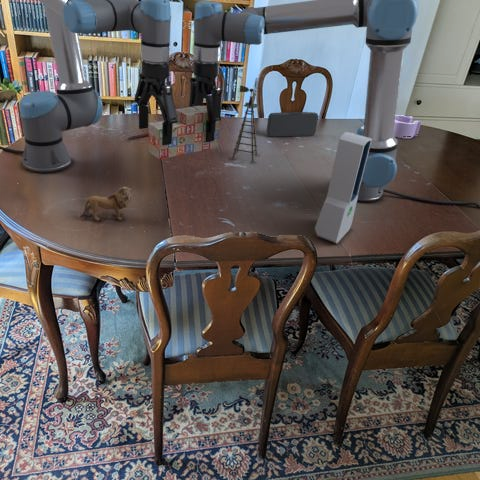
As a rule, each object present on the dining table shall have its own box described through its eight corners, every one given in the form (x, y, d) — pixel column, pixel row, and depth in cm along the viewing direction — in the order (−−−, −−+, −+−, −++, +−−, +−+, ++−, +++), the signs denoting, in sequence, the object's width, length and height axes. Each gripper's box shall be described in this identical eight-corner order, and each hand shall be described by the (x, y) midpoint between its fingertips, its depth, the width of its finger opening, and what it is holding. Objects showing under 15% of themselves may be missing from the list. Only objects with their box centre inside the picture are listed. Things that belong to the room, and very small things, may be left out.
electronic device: (336, 245, 132) (360, 146, 116) (312, 236, 135) (332, 138, 119) (351, 228, 141) (376, 133, 125) (328, 220, 144) (350, 126, 128)
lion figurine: (131, 210, 139) (130, 182, 134) (134, 219, 134) (133, 191, 130) (79, 214, 134) (76, 186, 129) (80, 224, 129) (77, 195, 125)
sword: (190, 126, 202) (190, 124, 201) (194, 129, 200) (194, 126, 199) (124, 139, 186) (124, 136, 186) (127, 141, 184) (127, 139, 184)
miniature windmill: (253, 162, 176) (262, 82, 160) (231, 159, 177) (238, 78, 161) (257, 154, 184) (266, 76, 168) (236, 150, 185) (243, 72, 169)
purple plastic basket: (384, 139, 212) (388, 124, 209) (370, 129, 222) (373, 115, 218) (420, 137, 219) (425, 123, 215) (404, 128, 228) (409, 114, 225)
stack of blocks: (159, 159, 137) (158, 119, 131) (148, 152, 141) (147, 112, 135) (218, 147, 149) (220, 109, 143) (207, 141, 153) (208, 104, 147)
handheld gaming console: (312, 133, 210) (316, 111, 205) (315, 135, 208) (319, 113, 203) (265, 134, 203) (268, 112, 198) (267, 137, 201) (270, 114, 196)
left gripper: (192, 72, 120) (188, 149, 132) (145, 49, 135) (145, 120, 147) (167, 74, 116) (165, 154, 127) (121, 50, 131) (123, 123, 143)
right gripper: (236, 67, 131) (231, 145, 144) (198, 53, 143) (196, 126, 156) (215, 70, 127) (211, 149, 139) (177, 54, 139) (177, 129, 152)
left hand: (154, 136), depth 137 cm, fingers open, 13 cm apart
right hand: (203, 137), depth 148 cm, fingers closed on stack of blocks, 6 cm apart
